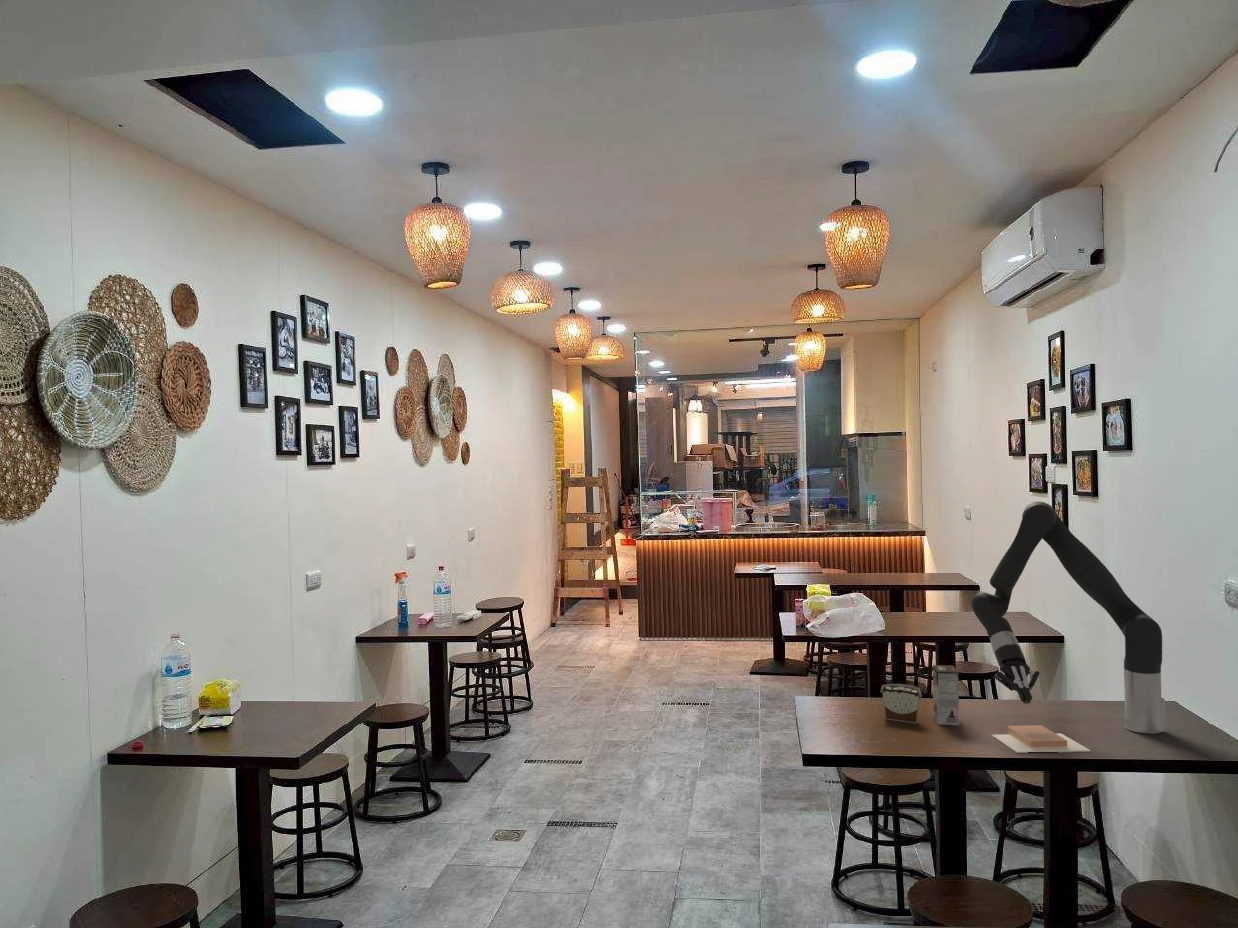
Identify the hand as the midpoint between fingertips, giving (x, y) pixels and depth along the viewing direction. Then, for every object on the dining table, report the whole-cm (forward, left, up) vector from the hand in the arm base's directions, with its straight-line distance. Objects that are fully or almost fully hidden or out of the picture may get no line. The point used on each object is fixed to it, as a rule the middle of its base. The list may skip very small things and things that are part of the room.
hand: (1027, 701), depth 245 cm
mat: (0, +6, -10) cm, 12 cm away
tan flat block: (0, -3, -8) cm, 9 cm away
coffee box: (+17, -17, -10) cm, 26 cm away
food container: (+29, -20, -10) cm, 36 cm away
